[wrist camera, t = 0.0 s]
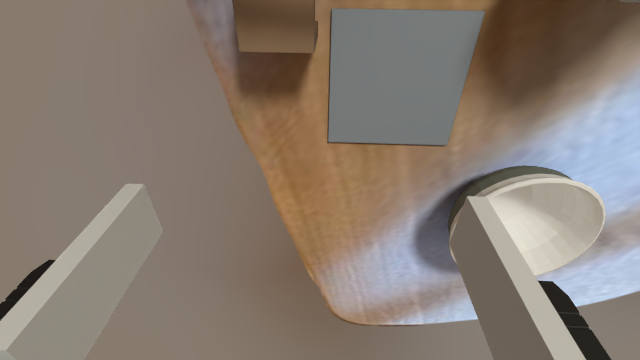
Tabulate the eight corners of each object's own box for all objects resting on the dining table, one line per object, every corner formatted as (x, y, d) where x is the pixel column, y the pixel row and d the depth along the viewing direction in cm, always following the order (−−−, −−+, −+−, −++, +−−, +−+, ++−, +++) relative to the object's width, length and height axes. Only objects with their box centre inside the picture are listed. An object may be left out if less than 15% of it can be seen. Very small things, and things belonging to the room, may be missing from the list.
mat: (332, 8, 33) (331, 9, 33) (483, 10, 33) (485, 11, 32) (328, 140, 43) (328, 141, 42) (446, 143, 42) (446, 145, 42)
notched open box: (247, -48, 31) (225, -48, 25) (318, -47, 31) (313, -47, 24) (256, 34, 35) (239, 51, 29) (317, 35, 35) (313, 53, 29)
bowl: (448, 251, 55) (463, 292, 48) (420, 171, 45) (435, 209, 38) (568, 221, 49) (604, 262, 43) (565, 123, 40) (611, 157, 33)
